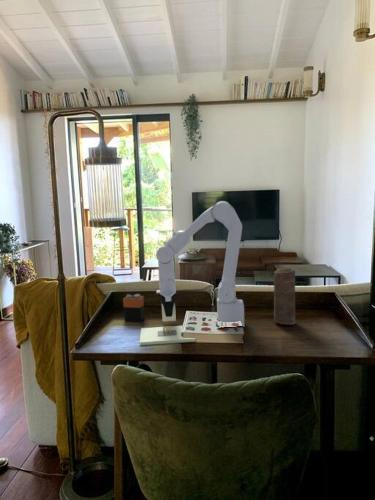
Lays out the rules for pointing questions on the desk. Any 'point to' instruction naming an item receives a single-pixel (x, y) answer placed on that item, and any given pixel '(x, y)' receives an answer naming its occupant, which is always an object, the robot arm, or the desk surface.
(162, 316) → the housing
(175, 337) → the header board
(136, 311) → the battery
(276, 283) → the candle
